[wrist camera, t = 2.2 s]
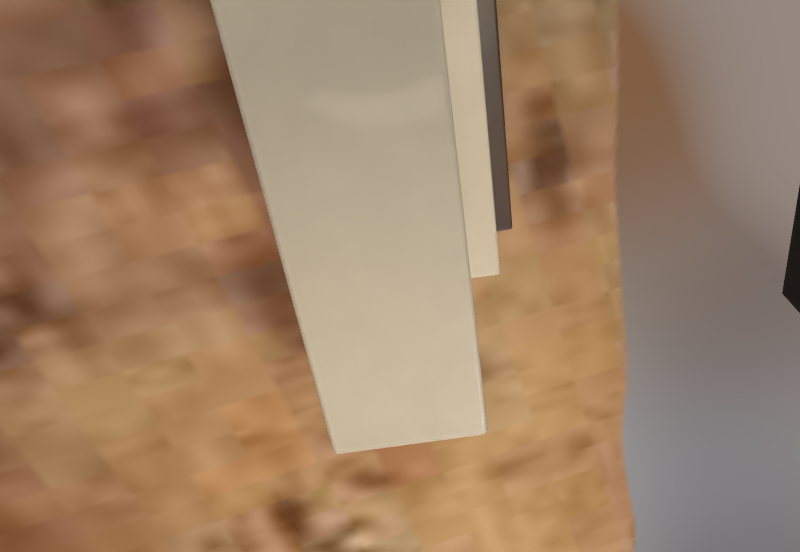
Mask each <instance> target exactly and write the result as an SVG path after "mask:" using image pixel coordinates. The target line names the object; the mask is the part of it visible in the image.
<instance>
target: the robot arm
mask: <svg viewBox="0 0 800 552" xmlns="http://www.w3.org/2000/svg"><path fill="white" fill-rule="evenodd" d="M782 293H783V295H784V296H785V297H786V298H787V299H788V300H789V301H790V303H791V304H792V305H793V306H794V307H795V308H796V309H797V310H798V311H799V312H800V187H799V193H798V199H797V206H796V212H795V218H794V224H793V230H792V236H791V243H790V249H789V255H788V262H787V267H786V274H785V280H784V286H783V292H782Z"/></svg>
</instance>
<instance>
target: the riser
mask: <svg viewBox="0 0 800 552" xmlns="http://www.w3.org/2000/svg"><path fill="white" fill-rule="evenodd" d="M477 8H478V19H479V31H480V43H481V55H482V67H483V78H484V90H485V102H486V114H487V125H488V137H489V149H490V161H491V173H492V184H493V196H494V208H495V220H496V231H501V230H508V229H512V218H511V204H510V190H509V176H508V162H507V148H506V134H505V120H504V106H503V92H502V78H501V64H500V50H499V36H498V22H497V8H496V0H477Z"/></svg>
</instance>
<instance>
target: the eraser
mask: <svg viewBox="0 0 800 552" xmlns="http://www.w3.org/2000/svg"><path fill="white" fill-rule="evenodd" d="M210 3H211V6H212V10H213V14H214V17H215V21H216V24H217V28H218V32H219V35H220V39H221V43H222V46H223V50H224V54H225V57H226V61H227V65H228V68H229V72H230V76H231V79H232V83H233V87H234V90H235V94H236V97H237V101H238V105H239V108H240V112H241V116H242V119H243V123H244V127H245V130H246V134H247V138H248V141H249V145H250V149H251V152H252V156H253V159H254V163H255V167H256V170H257V174H258V178H259V181H260V185H261V189H262V192H263V196H264V200H265V203H266V207H267V211H268V214H269V218H270V221H271V225H272V229H273V232H274V236H275V240H276V243H277V247H278V251H279V254H280V258H281V262H282V265H283V269H284V273H285V276H286V280H287V284H288V287H289V291H290V294H291V298H292V302H293V305H294V309H295V313H296V316H297V320H298V324H299V327H300V331H301V335H302V338H303V342H304V346H305V349H306V353H307V356H308V360H309V364H310V367H311V371H312V375H313V378H314V382H315V386H316V389H317V393H318V397H319V400H320V404H321V408H322V411H323V415H324V419H325V422H326V426H327V429H328V433H329V437H330V440H331V444H332V448H333V450H334V452H335V453H337V454H341V453H348V452H356V451H363V450H371V449H378V448H386V447H393V446H401V445H408V444H416V443H423V442H430V441H438V440H445V439H453V438H460V437H468V436H475V435H483V434H485V433H486V432H487V429H488V428H487V419H486V410H485V401H484V392H483V383H482V374H481V365H480V356H479V347H478V338H477V329H476V320H475V311H474V302H473V293H472V284H471V278H475V277H482V276H489V275H496V274H499V273H500V267H499V255H498V243H497V231H496V220H495V208H494V196H493V184H492V173H491V161H490V149H489V137H488V125H487V114H486V102H485V90H484V78H483V67H482V55H481V43H480V31H479V19H478V8H477V0H210Z"/></svg>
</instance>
